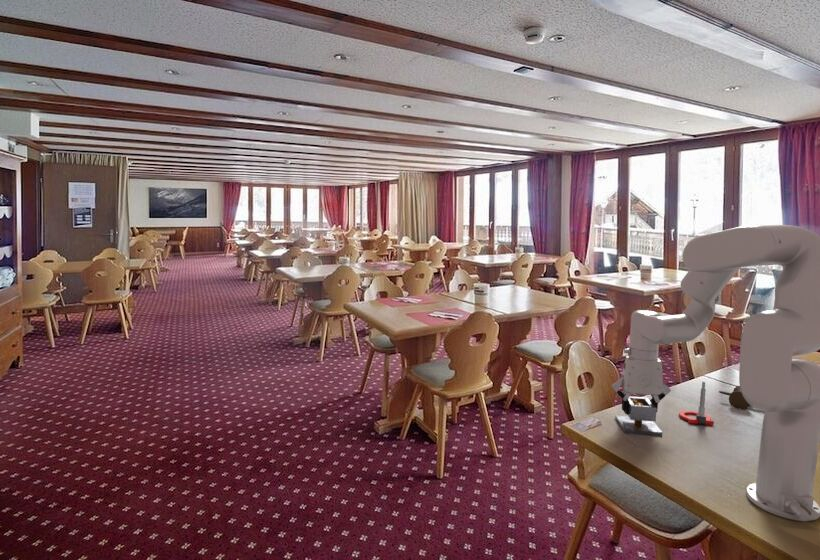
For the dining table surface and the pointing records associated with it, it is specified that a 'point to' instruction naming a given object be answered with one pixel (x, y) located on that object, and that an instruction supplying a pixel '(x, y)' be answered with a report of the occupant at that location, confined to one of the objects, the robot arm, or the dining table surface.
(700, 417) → the tow hook
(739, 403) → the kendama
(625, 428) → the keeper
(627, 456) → the dining table surface
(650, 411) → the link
